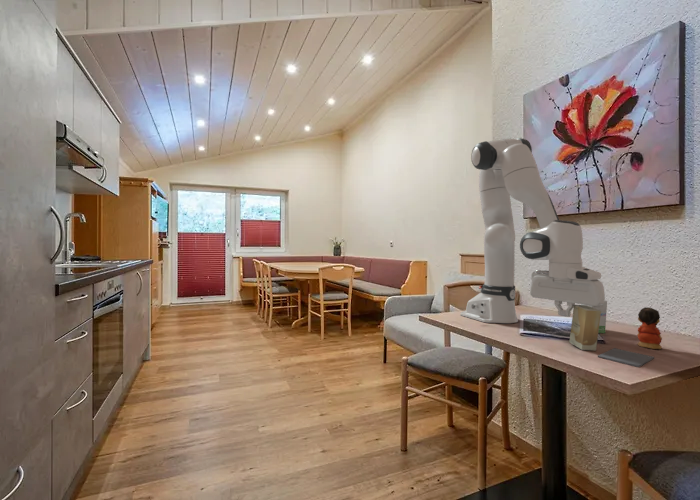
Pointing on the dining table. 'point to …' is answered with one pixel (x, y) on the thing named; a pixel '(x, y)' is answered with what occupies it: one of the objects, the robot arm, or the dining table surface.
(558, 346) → the dining table surface
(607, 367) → the dining table surface
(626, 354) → the felt mat
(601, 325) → the ink box
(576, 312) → the skincare box
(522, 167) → the robot arm
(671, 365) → the dining table surface
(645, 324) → the figurine
